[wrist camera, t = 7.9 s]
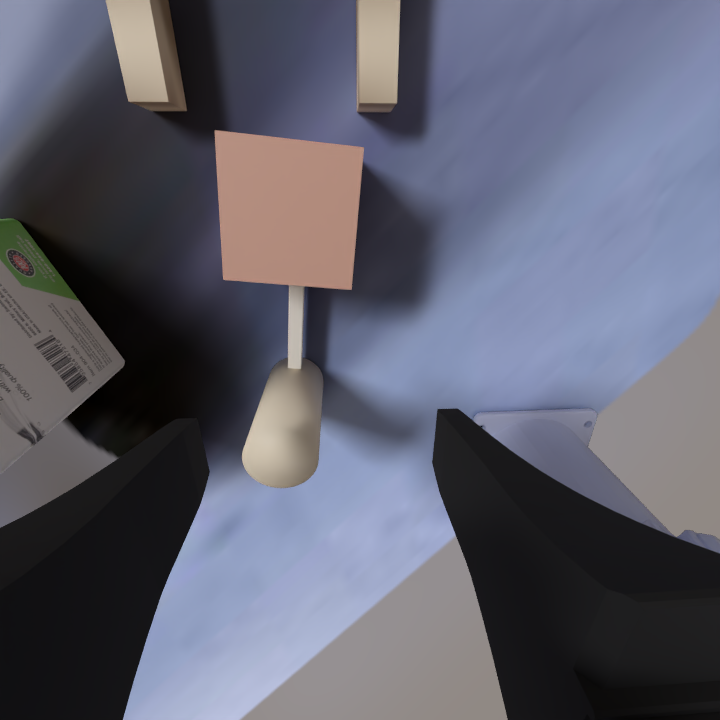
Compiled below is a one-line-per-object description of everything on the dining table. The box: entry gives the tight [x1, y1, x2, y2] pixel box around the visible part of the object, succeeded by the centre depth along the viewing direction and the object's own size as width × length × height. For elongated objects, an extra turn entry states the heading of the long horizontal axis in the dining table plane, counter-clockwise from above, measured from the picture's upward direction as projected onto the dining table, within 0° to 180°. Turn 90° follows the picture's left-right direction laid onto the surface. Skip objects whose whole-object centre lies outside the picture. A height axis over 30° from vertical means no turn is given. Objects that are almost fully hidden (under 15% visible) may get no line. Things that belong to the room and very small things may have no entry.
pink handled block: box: [215, 130, 364, 488], centre depth 17 cm, size 14×5×7 cm, turn 174°
